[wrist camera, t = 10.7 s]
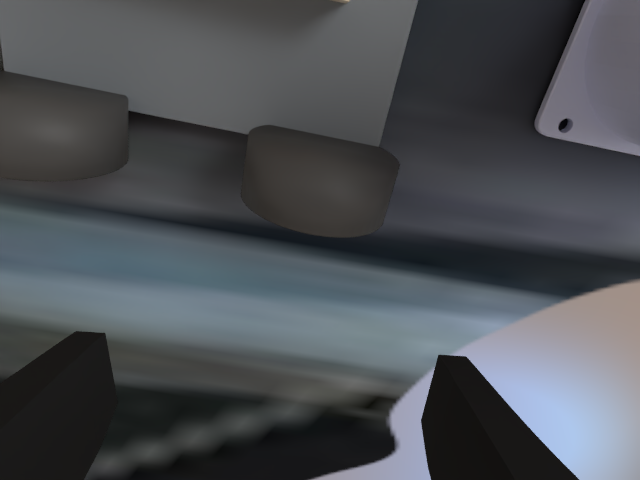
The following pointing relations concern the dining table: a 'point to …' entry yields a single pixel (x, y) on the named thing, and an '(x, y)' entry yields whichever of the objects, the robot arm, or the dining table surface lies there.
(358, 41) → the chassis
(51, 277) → the dining table surface
